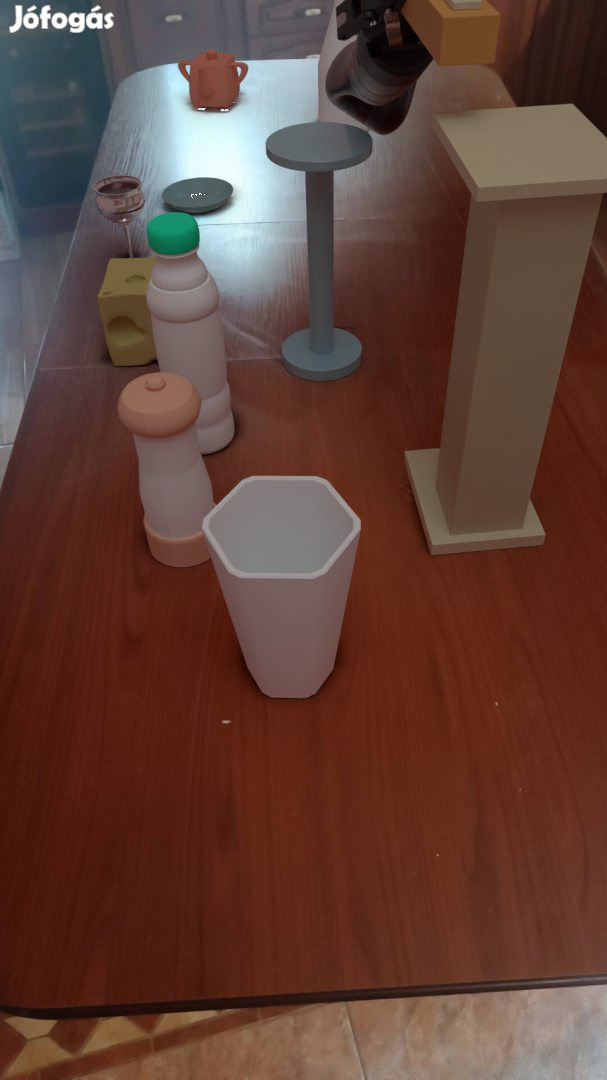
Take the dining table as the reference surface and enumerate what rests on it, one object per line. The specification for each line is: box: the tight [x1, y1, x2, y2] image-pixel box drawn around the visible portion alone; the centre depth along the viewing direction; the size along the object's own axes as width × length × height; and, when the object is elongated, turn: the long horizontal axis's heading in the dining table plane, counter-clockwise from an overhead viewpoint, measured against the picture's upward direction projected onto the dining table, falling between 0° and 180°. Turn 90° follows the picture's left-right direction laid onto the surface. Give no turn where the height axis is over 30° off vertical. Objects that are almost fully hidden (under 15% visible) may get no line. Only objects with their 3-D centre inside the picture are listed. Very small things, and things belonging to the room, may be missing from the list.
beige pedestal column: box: [403, 103, 607, 556], centre depth 69 cm, size 14×11×35 cm
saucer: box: [161, 176, 234, 214], centre depth 132 cm, size 12×12×2 cm
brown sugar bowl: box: [177, 49, 249, 110], centre depth 163 cm, size 14×12×10 cm
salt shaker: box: [116, 371, 218, 568], centre depth 72 cm, size 7×7×19 cm
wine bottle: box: [317, 0, 369, 132], centre depth 143 cm, size 10×10×30 cm
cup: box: [201, 475, 362, 699], centre depth 62 cm, size 11×10×17 cm
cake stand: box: [265, 121, 374, 382], centre depth 91 cm, size 11×11×26 cm
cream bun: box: [401, 0, 502, 67], centre depth 61 cm, size 17×4×4 cm, turn 6°
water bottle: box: [146, 211, 235, 456], centre depth 81 cm, size 7×7×25 cm
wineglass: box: [92, 174, 146, 258], centre depth 115 cm, size 7×7×12 cm
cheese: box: [96, 256, 158, 367], centre depth 100 cm, size 10×11×10 cm
